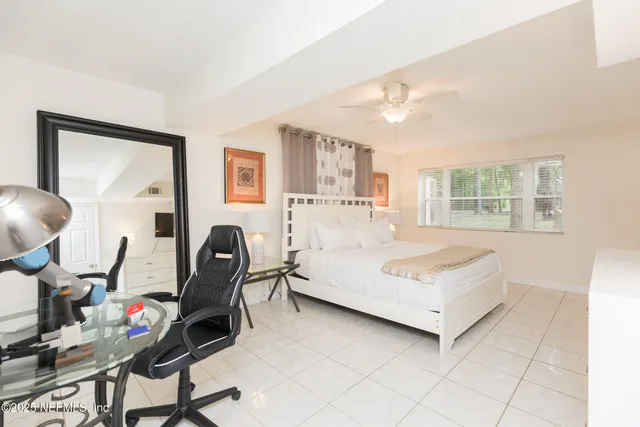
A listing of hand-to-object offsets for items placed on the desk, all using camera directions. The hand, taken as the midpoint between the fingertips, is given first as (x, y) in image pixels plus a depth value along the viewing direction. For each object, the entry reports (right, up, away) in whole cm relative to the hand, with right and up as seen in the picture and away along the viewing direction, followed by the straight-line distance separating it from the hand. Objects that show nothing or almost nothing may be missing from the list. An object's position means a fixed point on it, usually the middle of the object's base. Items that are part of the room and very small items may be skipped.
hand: (62, 336), depth 123 cm
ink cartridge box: (+7, -8, +40) cm, 42 cm away
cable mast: (+3, -10, +3) cm, 11 cm away
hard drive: (+17, -8, +24) cm, 30 cm away
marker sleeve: (+3, -4, +3) cm, 5 cm away
